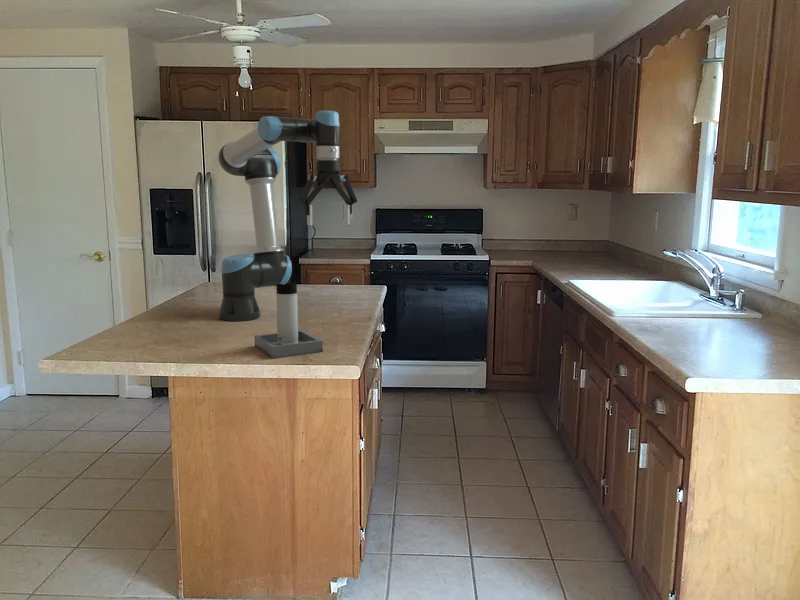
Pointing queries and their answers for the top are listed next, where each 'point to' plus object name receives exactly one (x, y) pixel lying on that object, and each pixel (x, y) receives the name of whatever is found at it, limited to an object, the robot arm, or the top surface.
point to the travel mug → (287, 313)
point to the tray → (288, 345)
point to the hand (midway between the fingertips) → (328, 224)
